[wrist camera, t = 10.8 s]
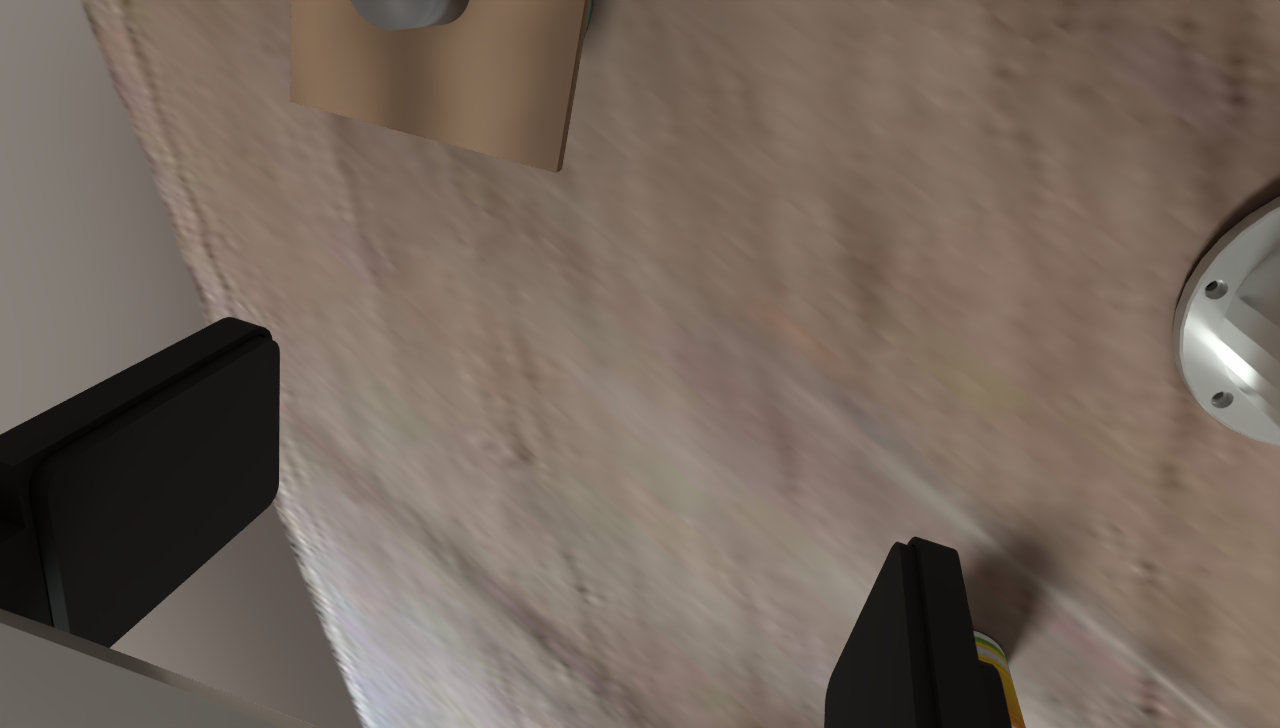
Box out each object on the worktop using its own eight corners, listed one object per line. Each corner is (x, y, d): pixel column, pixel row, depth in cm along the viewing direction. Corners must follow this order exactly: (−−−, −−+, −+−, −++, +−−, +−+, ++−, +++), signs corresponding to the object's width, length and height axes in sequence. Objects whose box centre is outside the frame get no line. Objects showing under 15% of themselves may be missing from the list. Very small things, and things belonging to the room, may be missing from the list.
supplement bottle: (933, 612, 46) (961, 756, 37) (1023, 644, 46) (1072, 797, 37) (893, 673, 49) (911, 822, 40) (978, 705, 48) (1014, 861, 40)
